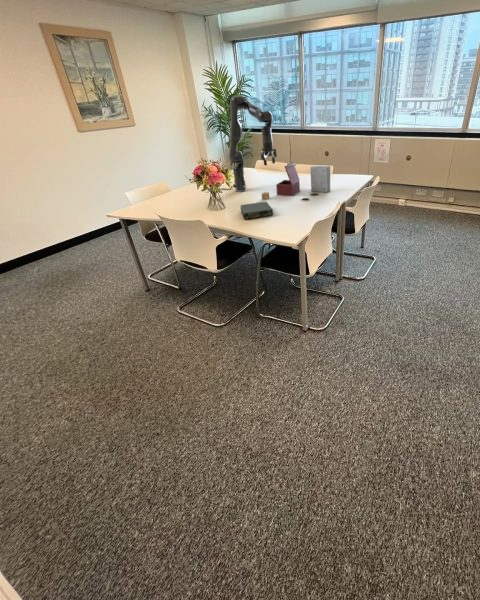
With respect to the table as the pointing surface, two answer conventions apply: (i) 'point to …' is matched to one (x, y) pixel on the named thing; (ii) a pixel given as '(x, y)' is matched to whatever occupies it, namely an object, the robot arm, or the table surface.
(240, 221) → the table surface
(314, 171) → the hard drive box
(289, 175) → the purple box lid
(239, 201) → the table surface
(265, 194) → the block
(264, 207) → the network switch
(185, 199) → the table surface
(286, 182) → the dark red box
